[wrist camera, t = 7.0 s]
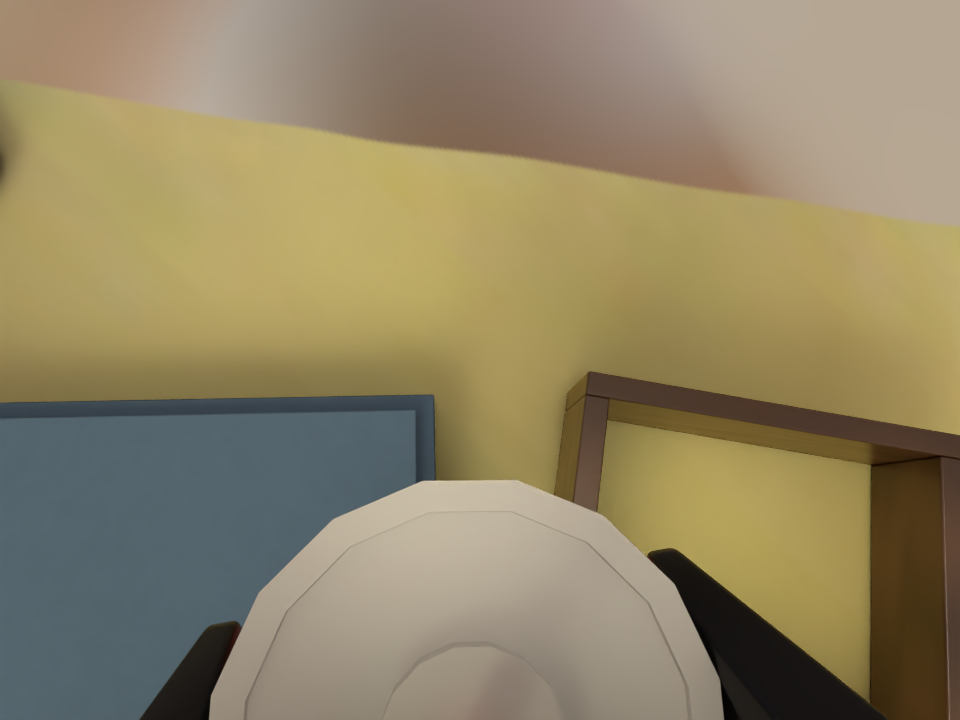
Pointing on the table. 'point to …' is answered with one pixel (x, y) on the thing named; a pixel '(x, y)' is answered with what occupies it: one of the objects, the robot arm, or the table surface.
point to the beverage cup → (469, 619)
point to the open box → (895, 514)
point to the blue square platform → (169, 527)
